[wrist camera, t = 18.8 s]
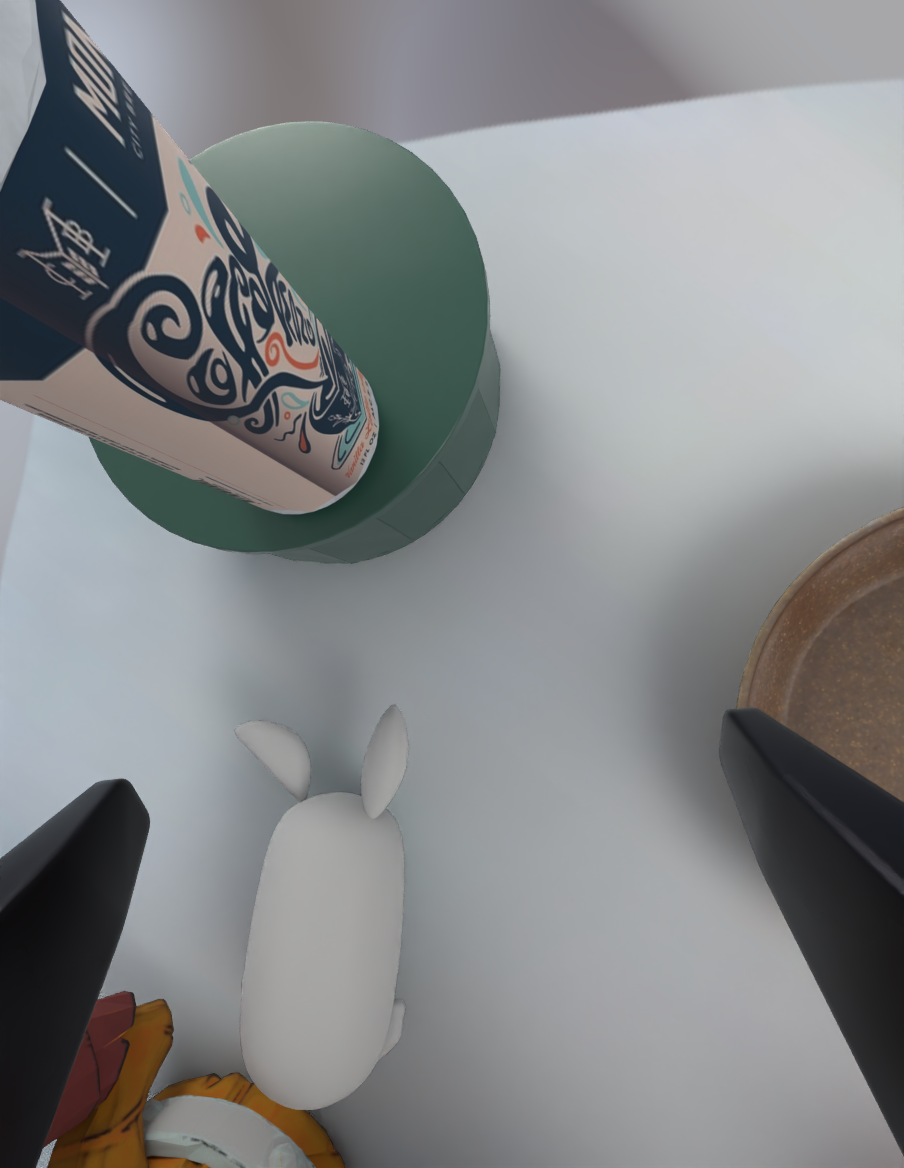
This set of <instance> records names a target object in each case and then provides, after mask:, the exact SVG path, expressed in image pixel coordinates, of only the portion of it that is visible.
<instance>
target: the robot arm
mask: <svg viewBox="0 0 904 1168" xmlns="http://www.w3.org/2000/svg"><path fill="white" fill-rule="evenodd" d="M719 755H720V761H721V765H722V768H723V771H724V773H725V776H726V779H727V782H728V784H729V787H730V790H731V792H732V795H733V798H734V800H735V803H736V806H737V808H738V811H739V814H740V816H741V819H742V822H743V825H744V827H745V830H746V833H747V835H748V838H749V841H750V843H751V846H752V849H753V851H754V854H755V856H756V859H757V861H758V864H759V866H760V869H761V871H762V873H763V875H764V877H765V879H766V881H767V884H768V886H769V888H770V890H771V892H772V894H773V896H774V898H775V900H776V902H777V904H778V906H779V908H780V910H781V912H782V914H783V916H784V918H785V920H786V922H787V924H788V926H789V928H790V930H791V932H792V934H793V936H794V938H795V940H796V942H797V944H798V946H799V948H800V950H801V952H802V954H803V956H804V958H805V960H806V962H807V964H808V966H809V968H810V970H811V972H812V974H813V976H814V978H815V980H816V982H817V984H818V986H819V988H820V990H821V992H822V994H823V996H824V998H825V1000H826V1002H827V1004H828V1006H829V1008H830V1010H831V1012H832V1014H833V1016H834V1018H835V1020H836V1022H837V1024H838V1026H839V1028H840V1030H841V1032H842V1034H843V1036H844V1038H845V1040H846V1042H847V1044H848V1046H849V1048H850V1050H851V1052H852V1054H853V1056H854V1058H855V1060H856V1062H857V1064H858V1066H859V1068H860V1070H861V1072H862V1074H863V1076H864V1078H865V1080H866V1082H867V1084H868V1086H869V1088H870V1090H871V1092H872V1094H873V1096H874V1098H875V1100H876V1102H877V1104H878V1106H879V1108H880V1110H881V1112H882V1114H883V1116H884V1118H885V1120H886V1122H887V1124H888V1126H889V1128H890V1130H891V1132H892V1134H893V1136H894V1138H895V1140H896V1142H897V1144H898V1146H899V1148H900V1150H901V1152H902V1154H903V1156H904V802H903V801H901V800H900V799H898V798H897V797H895V796H894V795H892V794H890V793H889V792H887V791H886V790H884V789H883V788H881V787H880V786H878V785H876V784H875V783H873V782H872V781H870V780H869V779H867V778H866V777H864V776H862V775H861V774H859V773H858V772H856V771H855V770H853V769H852V768H850V767H848V766H847V765H845V764H844V763H842V762H841V761H839V760H838V759H836V758H834V757H833V756H831V755H830V754H828V753H827V752H825V751H824V750H822V749H820V748H819V747H817V746H816V745H814V744H813V743H811V742H810V741H808V740H807V739H805V738H803V737H802V736H800V735H799V734H797V733H796V732H794V731H793V730H791V729H789V728H788V727H786V726H785V725H783V724H782V723H780V722H779V721H777V720H775V719H774V718H772V717H771V716H769V715H768V714H766V713H765V712H763V711H761V710H760V709H758V708H755V707H746V708H737V709H730V710H727V711H726V712H725V714H724V717H723V723H722V731H721V740H720V748H719ZM149 828H150V817H149V813H148V811H147V809H146V808H145V806H144V804H143V802H142V801H141V799H140V797H139V796H138V794H137V792H136V791H135V789H134V787H133V786H132V784H131V783H130V782H129V781H128V780H126V779H113V780H104V781H100V782H97V783H95V784H94V785H92V786H91V787H90V788H89V789H87V790H86V791H85V792H84V793H82V794H81V795H80V796H79V797H77V798H76V799H75V800H74V801H72V802H71V803H70V804H69V805H67V806H66V807H65V808H63V809H62V810H61V811H60V812H58V813H57V814H56V815H55V816H53V817H52V818H51V819H50V820H48V821H47V822H46V823H45V824H43V825H42V826H41V827H40V828H38V829H37V830H36V831H35V832H33V833H32V834H31V835H30V836H28V837H27V838H26V839H25V840H23V841H22V842H21V843H19V844H18V845H17V846H16V847H14V848H13V849H12V850H11V851H9V852H8V853H7V854H6V855H4V856H3V857H2V858H1V859H0V1168H36V1166H37V1163H38V1160H39V1158H40V1155H41V1152H42V1149H43V1147H44V1144H45V1141H46V1139H47V1136H48V1133H49V1130H50V1128H51V1125H52V1122H53V1119H54V1117H55V1114H56V1111H57V1109H58V1106H59V1103H60V1100H61V1098H62V1095H63V1092H64V1089H65V1087H66V1084H67V1081H68V1078H69V1076H70V1073H71V1070H72V1068H73V1065H74V1062H75V1059H76V1057H77V1054H78V1051H79V1048H80V1046H81V1043H82V1040H83V1037H84V1035H85V1032H86V1029H87V1027H88V1024H89V1021H90V1018H91V1016H92V1013H93V1010H94V1007H95V1005H96V1002H97V999H98V997H99V994H100V991H101V988H102V986H103V983H104V980H105V977H106V975H107V972H108V969H109V966H110V964H111V961H112V958H113V956H114V953H115V950H116V947H117V944H118V941H119V939H120V936H121V933H122V930H123V926H124V923H125V919H126V916H127V913H128V909H129V905H130V901H131V897H132V894H133V890H134V886H135V882H136V878H137V875H138V871H139V867H140V863H141V859H142V855H143V852H144V848H145V844H146V840H147V836H148V833H149Z"/></svg>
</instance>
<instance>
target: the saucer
mask: <svg viewBox="0 0 904 1168" xmlns="http://www.w3.org/2000/svg"><path fill="white" fill-rule="evenodd" d="M746 707H755V708H758V709H760V710H761V711H763V712H765V713H766V714H768V715H769V716H771V717H772V718H774V719H775V720H777V721H779V722H780V723H782V724H783V725H785V726H786V727H788V728H789V729H791V730H793V731H794V732H796V733H797V734H799V735H800V736H802V737H803V738H805V739H807V740H808V741H810V742H811V743H813V744H814V745H816V746H817V747H819V748H820V749H822V750H824V751H825V752H827V753H828V754H830V755H831V756H833V757H834V758H836V759H838V760H839V761H841V762H842V763H844V764H845V765H847V766H848V767H850V768H852V769H853V770H855V771H856V772H858V773H859V774H861V775H862V776H864V777H866V778H867V779H869V780H870V781H872V782H873V783H875V784H876V785H878V786H880V787H881V788H883V789H884V790H886V791H887V792H889V793H890V794H892V795H894V796H895V797H897V798H898V799H900V800H901V801H903V802H904V507H902V508H899V509H897V510H895V511H893V512H890V513H888V514H886V515H884V516H882V517H879V518H877V519H875V520H873V521H871V522H869V523H868V524H866V525H864V526H862V527H861V528H859V529H857V530H856V531H854V532H852V533H851V534H849V535H847V536H846V537H844V538H843V539H841V540H840V541H838V542H837V543H836V544H834V545H833V546H832V547H830V548H829V549H828V550H826V551H825V552H824V553H822V554H821V555H820V556H819V557H817V558H816V559H815V560H814V561H813V562H812V563H811V564H810V565H809V566H808V567H807V568H806V569H805V570H804V571H803V572H802V573H801V574H800V575H799V576H798V577H797V578H796V579H795V580H794V581H793V583H792V584H791V585H790V586H789V587H788V588H787V590H786V591H785V592H784V594H783V595H782V596H781V598H780V599H779V600H778V601H777V603H776V604H775V606H774V607H773V609H772V610H771V612H770V614H769V615H768V617H767V619H766V620H765V622H764V624H763V626H762V627H761V629H760V631H759V633H758V635H757V637H756V639H755V642H754V644H753V647H752V649H751V652H750V654H749V657H748V660H747V662H746V666H745V669H744V672H743V676H742V681H741V685H740V689H739V695H738V699H737V708H746Z"/></svg>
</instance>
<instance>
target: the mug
mask: <svg viewBox="0 0 904 1168" xmlns="http://www.w3.org/2000/svg"><path fill="white" fill-rule="evenodd" d="M173 1031H174V1028H173V1022H172V1015H171V1011H170V1009H169V1006H168V1004H167V1002H166V1001H165V1000H164V999H158V1000H155V1001H152V1002H149V1003H146V1004H142V1005H139V1006H136V1002H135V998H134V994H133V993H131V992H127V991H123V992H120V993H117V994H114V995H111V996H108V997H105V998H102V999H99V1000H97V1002H96V1005H95V1007H94V1010H93V1013H92V1016H91V1018H90V1021H89V1024H88V1027H87V1029H86V1032H85V1035H84V1037H83V1040H82V1043H81V1046H80V1048H79V1051H78V1054H77V1057H76V1059H75V1062H74V1065H73V1068H72V1070H71V1073H70V1076H69V1078H68V1081H67V1084H66V1087H65V1089H64V1092H63V1095H62V1098H61V1100H60V1103H59V1106H58V1109H57V1111H56V1114H55V1117H54V1119H53V1122H52V1125H51V1128H50V1130H49V1133H48V1136H47V1139H46V1141H45V1144H44V1147H45V1146H46V1145H48V1144H49V1143H51V1142H52V1141H54V1140H55V1139H57V1141H56V1143H55V1146H54V1148H53V1151H52V1154H51V1157H50V1161H49V1164H48V1167H47V1168H346V1167H345V1165H344V1163H343V1161H342V1158H341V1156H340V1154H339V1153H337V1152H336V1151H335V1150H334V1148H333V1146H332V1143H331V1140H330V1138H329V1136H328V1134H327V1132H326V1130H325V1129H324V1128H323V1127H322V1126H321V1125H320V1124H319V1123H318V1122H317V1121H316V1120H315V1119H314V1118H313V1117H312V1116H311V1115H310V1114H309V1113H308V1112H307V1111H306V1110H295V1109H292V1108H288V1107H285V1106H283V1105H281V1104H278V1103H277V1102H275V1101H273V1100H271V1099H269V1098H268V1097H267V1096H266V1095H265V1094H264V1093H262V1092H261V1091H260V1090H259V1088H258V1087H257V1086H256V1085H255V1084H254V1083H252V1084H250V1083H249V1082H248V1080H247V1079H246V1078H245V1077H244V1076H242V1075H241V1074H240V1073H231V1074H229V1075H227V1076H226V1077H224V1078H222V1079H221V1078H220V1077H219V1076H218V1075H216V1074H215V1073H213V1074H210V1075H207V1076H204V1077H199V1078H194V1079H188V1080H185V1081H182V1082H179V1083H176V1084H173V1085H170V1086H168V1087H166V1088H165V1089H164V1090H162V1091H161V1092H160V1093H158V1094H157V1095H156V1096H154V1097H153V1098H152V1099H150V1100H148V1101H147V1102H146V1100H147V1096H148V1093H149V1090H150V1088H151V1085H152V1083H153V1081H154V1079H155V1077H156V1075H157V1073H158V1070H159V1068H160V1066H161V1065H162V1063H163V1061H164V1059H165V1057H166V1056H167V1054H168V1052H169V1050H170V1048H171V1046H172V1042H173V1036H172V1033H173ZM44 1147H43V1148H44Z"/></svg>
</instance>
